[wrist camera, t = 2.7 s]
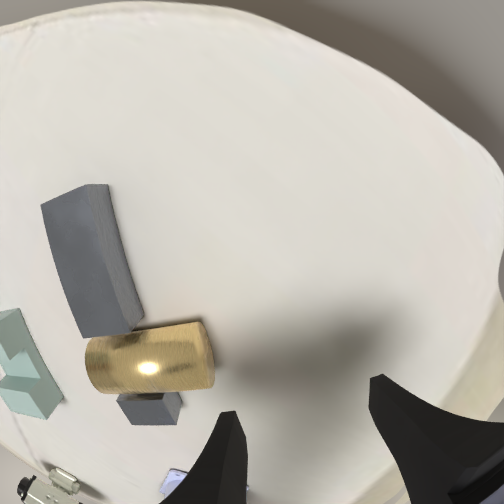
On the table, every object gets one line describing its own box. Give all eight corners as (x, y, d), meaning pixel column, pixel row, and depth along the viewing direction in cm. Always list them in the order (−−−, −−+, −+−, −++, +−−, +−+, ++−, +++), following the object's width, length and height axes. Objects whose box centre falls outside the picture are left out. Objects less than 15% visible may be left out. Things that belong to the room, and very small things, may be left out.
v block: (19, 308, 18) (-8, 325, 14) (63, 396, 20) (46, 419, 16) (-13, 314, 18) (-35, 328, 14) (27, 391, 20) (10, 411, 16)
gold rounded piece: (200, 311, 18) (188, 341, 14) (217, 364, 19) (211, 401, 15) (104, 326, 18) (76, 353, 14) (124, 373, 19) (104, 405, 15)
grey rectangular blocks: (107, 184, 16) (86, 184, 13) (182, 401, 20) (176, 424, 17) (64, 201, 16) (40, 204, 13) (140, 403, 20) (132, 424, 17)
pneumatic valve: (98, 494, 26) (82, 543, 14) (40, 462, 24) (17, 505, 12) (99, 485, 24) (80, 539, 13) (36, 449, 23) (9, 496, 11)
